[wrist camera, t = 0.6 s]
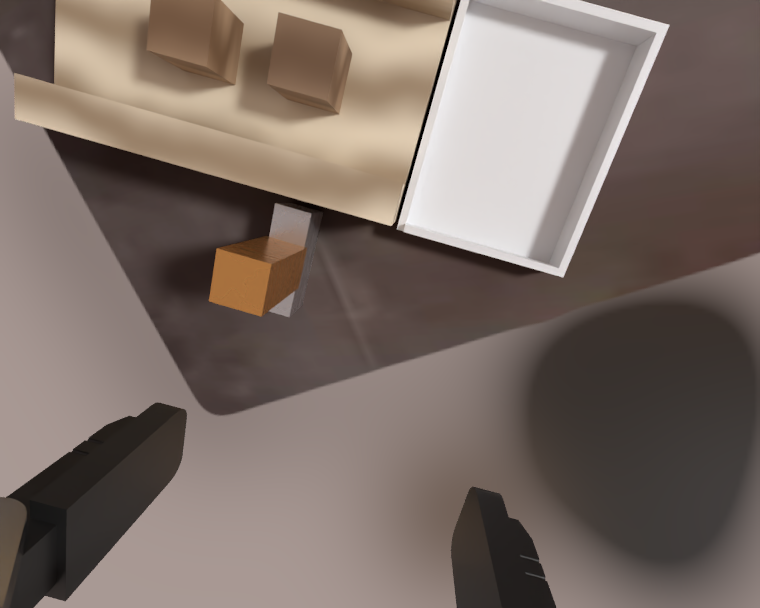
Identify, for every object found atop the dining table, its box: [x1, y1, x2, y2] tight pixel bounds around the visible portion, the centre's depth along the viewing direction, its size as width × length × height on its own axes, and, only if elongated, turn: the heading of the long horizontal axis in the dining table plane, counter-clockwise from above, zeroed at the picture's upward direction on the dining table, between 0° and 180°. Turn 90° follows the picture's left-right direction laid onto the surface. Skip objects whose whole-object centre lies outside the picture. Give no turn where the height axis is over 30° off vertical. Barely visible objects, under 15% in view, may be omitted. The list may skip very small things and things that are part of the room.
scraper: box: [209, 203, 323, 317], centre depth 29 cm, size 9×4×12 cm, turn 165°
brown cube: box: [267, 12, 352, 114], centre depth 25 cm, size 4×4×4 cm
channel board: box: [14, 0, 457, 226], centre depth 28 cm, size 17×28×7 cm, turn 75°
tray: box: [397, 0, 669, 277], centre depth 29 cm, size 18×14×3 cm
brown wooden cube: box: [147, 0, 244, 85], centre depth 25 cm, size 4×4×4 cm
